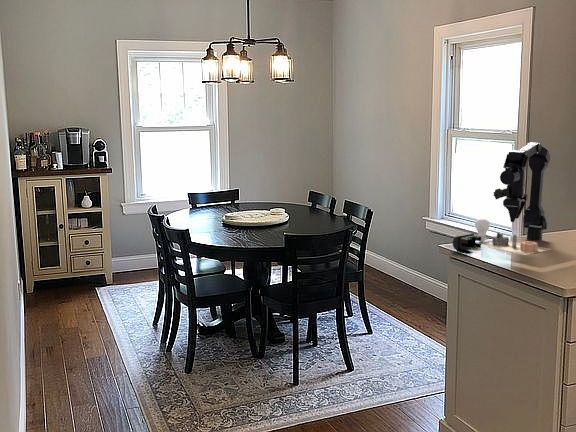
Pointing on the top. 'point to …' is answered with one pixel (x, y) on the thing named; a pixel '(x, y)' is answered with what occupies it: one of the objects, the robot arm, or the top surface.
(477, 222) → the lightbulb
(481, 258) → the top surface
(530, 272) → the top surface
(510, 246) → the gear board
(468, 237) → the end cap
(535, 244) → the loose gear
